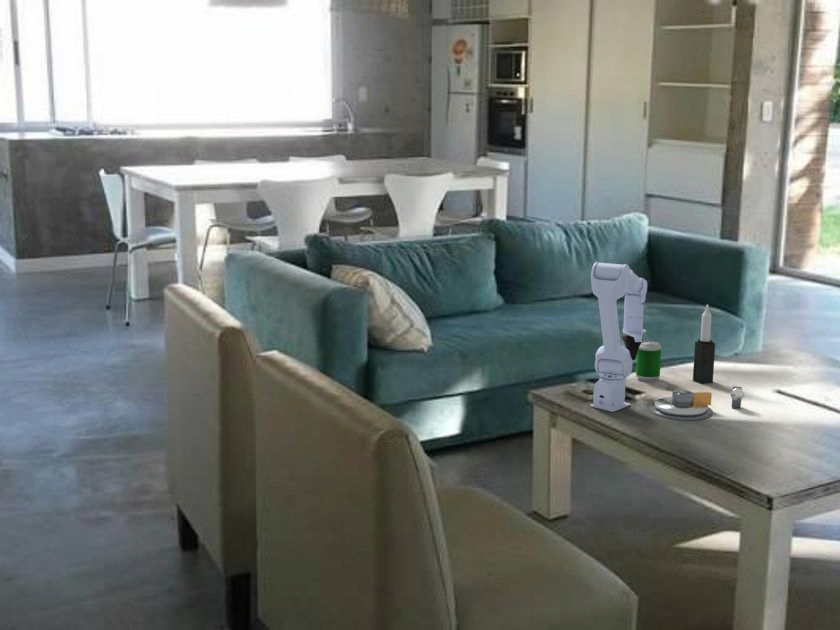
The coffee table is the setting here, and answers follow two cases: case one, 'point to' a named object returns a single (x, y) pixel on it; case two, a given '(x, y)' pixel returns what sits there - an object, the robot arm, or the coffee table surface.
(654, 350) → the soda can
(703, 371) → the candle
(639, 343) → the robot arm
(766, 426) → the coffee table surface
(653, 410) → the turntable base
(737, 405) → the grey cube on chrome
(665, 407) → the turntable
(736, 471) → the coffee table surface
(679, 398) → the cover
